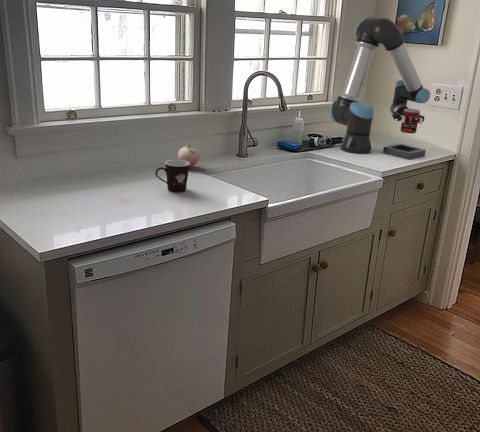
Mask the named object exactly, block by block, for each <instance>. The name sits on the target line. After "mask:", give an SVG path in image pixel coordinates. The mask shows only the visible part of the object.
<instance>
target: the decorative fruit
mask: <svg viewBox="0 0 480 432" xmlns="http://www.w3.org/2000/svg"><path fill="white" fill-rule="evenodd" d="M177 158H178V159H177V160H184V161H187V162H189V163H190V165H189V169H190V168H192V167H194V166H196V165H197V164H198V162H199V161H200V158H201V155H200V152H199V151H198V149H197V148H194V147H192V146H191V145H190V143H189V144H186V145H184V147H182V148H180V149H179V150H178V153H177Z"/></svg>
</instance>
